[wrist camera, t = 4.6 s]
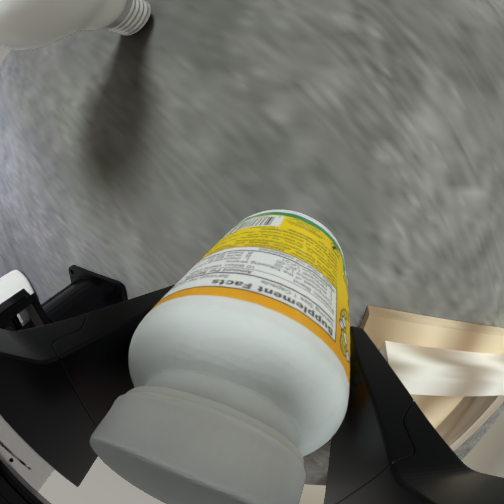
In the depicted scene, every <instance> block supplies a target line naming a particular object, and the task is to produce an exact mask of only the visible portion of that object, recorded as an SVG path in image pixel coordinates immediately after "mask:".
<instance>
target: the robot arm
mask: <svg viewBox="0 0 504 504" xmlns="http://www.w3.org/2000/svg"><path fill="white" fill-rule="evenodd" d="M69 274H70V278H71V284H70V285H68V286H67V287H65V288H64V289H63V290H61V291H60V292H58V293H57V294H56V295H54V296H53V297H51V298H50V299H49V300H47V301H46V302H45V303H43V304H42V305H41V304H40V303H39V301H38V297H37V295H36V293H35V292H34V293H33V294H31V295H30V294H29V293H28V292H27V291H26V290H25V289H24V288H23V289H22V290H20V291H19V292H17V293H16V294H14V295H13V296H11V297H10V298H8V299H7V300H5V301H4V302H2V303H1V304H0V504H51V503H50V502H49V501H47V500H46V499H45V498H44V497H43V496H42V495H41V494H39V493H38V491H39V489H40V488H41V487H42V485H43V484H44V483H45V481H46V480H47V478H48V477H49V476H50V475H51V473H52V472H53V471H54V470H56V471H58V472H59V473H60V474H61V475H63V476H64V477H65V478H66V479H68V480H69V481H70V482H72V483H73V484H74V485H76V486H77V487H78V486H79V485H80V483H81V482H82V480H83V479H84V477H85V476H86V474H87V472H88V471H89V469H90V468H91V466H92V464H93V463H94V461H95V460H96V458H97V457H98V455H97V454H96V453H95V452H94V450H93V449H92V447H91V445H90V438H91V436H92V434H93V432H94V431H95V429H96V428H97V427H98V425H99V424H100V423H101V421H102V420H103V419H104V417H105V416H106V414H107V413H108V412H109V410H110V409H111V407H112V405H113V403H114V402H115V400H116V399H117V398H118V397H119V396H120V395H124V394H126V393H127V392H128V391H130V390H131V389H133V388H134V385H133V382H132V379H131V376H130V371H129V363H128V355H129V347H130V343H131V339H132V337H133V334H134V332H135V330H136V328H137V327H138V325H139V324H140V322H141V321H142V320H143V318H144V317H145V316H146V315H147V314H148V313H149V312H150V311H151V309H152V308H153V307H154V306H155V305H156V304H157V303H158V302H159V301H160V300H161V299H162V298H163V297H164V296H165V295H166V294H167V293H168V292H169V291H170V290H171V289H172V288H173V287H174V286H175V285H172V286H169V287H166V288H163V289H160V290H157V291H154V292H151V293H148V294H145V295H142V296H139V297H136V298H133V299H130V300H126V295H125V289H124V286H123V284H122V283H121V282H119V281H116V280H113V279H111V278H108V277H105V276H102V275H99V274H97V273H94V272H91V271H88V270H86V269H83V268H80V267H78V266H75V265H72V266H71V267H69ZM17 314H19V315H20V317H21V318H22V320H23V322H22V323H21V322H20V320H19V318H18V317H17ZM413 400H414V399H413V398H412V396H411V395H410V393H409V392H408V390H407V389H406V388H405V386H404V385H403V383H402V382H401V380H400V379H399V378H398V376H397V375H396V373H395V372H394V371H393V369H392V368H391V366H390V365H389V364H388V362H387V361H386V359H385V358H384V357H383V355H382V354H381V352H380V351H379V350H378V348H377V347H376V346H375V344H374V343H373V342H372V340H371V339H370V337H369V336H368V335H367V333H366V332H365V331H364V329H362V328H359V327H353V326H351V327H350V387H349V399H348V406H347V411H346V414H345V417H344V419H343V421H342V424H341V425H340V427H339V429H338V430H337V432H336V433H335V434H334V435H333V436H332V438H331V449H330V459H329V468H328V477H327V484H326V492H325V499H324V504H504V478H502V477H497V476H492V475H488V474H483V473H480V472H476V471H474V470H472V469H470V468H469V467H467V466H466V465H465V464H464V463H463V462H462V461H461V460H460V459H459V458H458V456H457V455H456V454H455V453H454V452H453V450H452V449H451V448H450V447H449V445H448V444H447V443H446V442H445V441H444V439H443V438H442V437H441V436H440V435H439V433H438V432H437V431H436V429H435V428H434V427H433V426H432V424H431V423H430V422H429V420H428V419H427V418H426V416H425V415H424V413H423V412H422V411H421V409H420V408H419V406H418V405H417V403H416V402H415V401H413Z"/></svg>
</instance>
